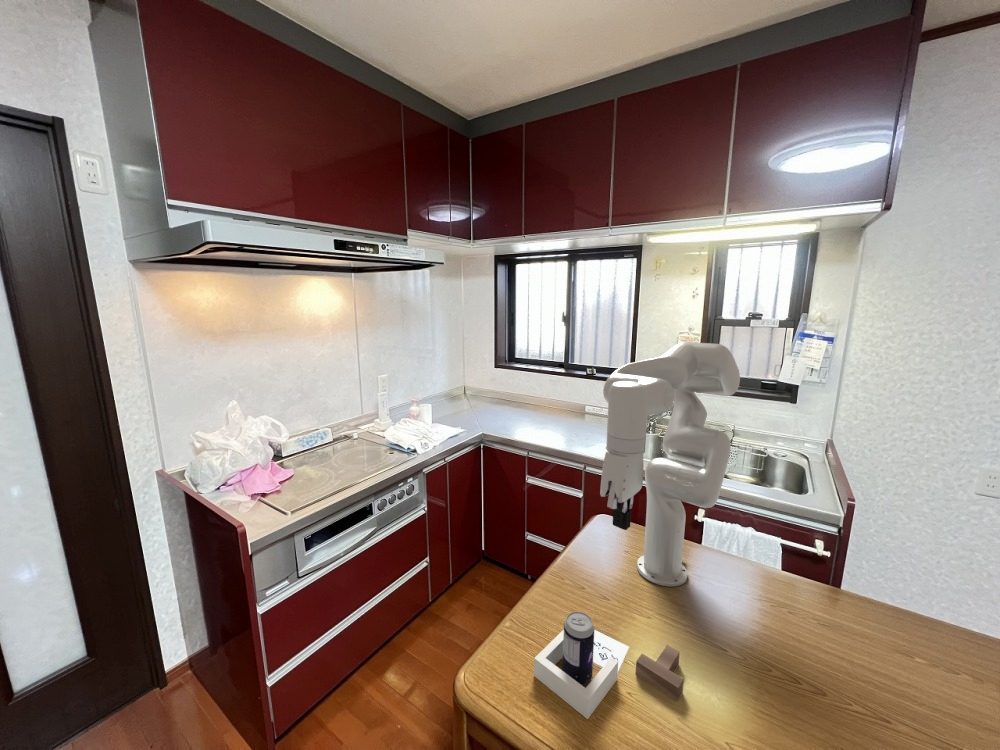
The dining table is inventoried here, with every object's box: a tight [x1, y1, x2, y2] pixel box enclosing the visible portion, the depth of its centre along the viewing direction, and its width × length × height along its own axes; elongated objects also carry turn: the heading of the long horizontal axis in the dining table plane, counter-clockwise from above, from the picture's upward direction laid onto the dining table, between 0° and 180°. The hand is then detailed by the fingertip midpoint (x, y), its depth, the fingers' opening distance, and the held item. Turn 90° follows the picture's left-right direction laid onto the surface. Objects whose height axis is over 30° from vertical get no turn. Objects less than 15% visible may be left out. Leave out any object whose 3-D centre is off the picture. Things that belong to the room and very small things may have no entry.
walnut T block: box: [635, 644, 685, 703], centre depth 79 cm, size 8×8×3 cm
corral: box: [533, 628, 619, 720], centre depth 78 cm, size 10×12×4 cm
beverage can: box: [562, 611, 595, 686], centre depth 77 cm, size 6×6×12 cm
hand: (621, 526), depth 85 cm, fingers closed
